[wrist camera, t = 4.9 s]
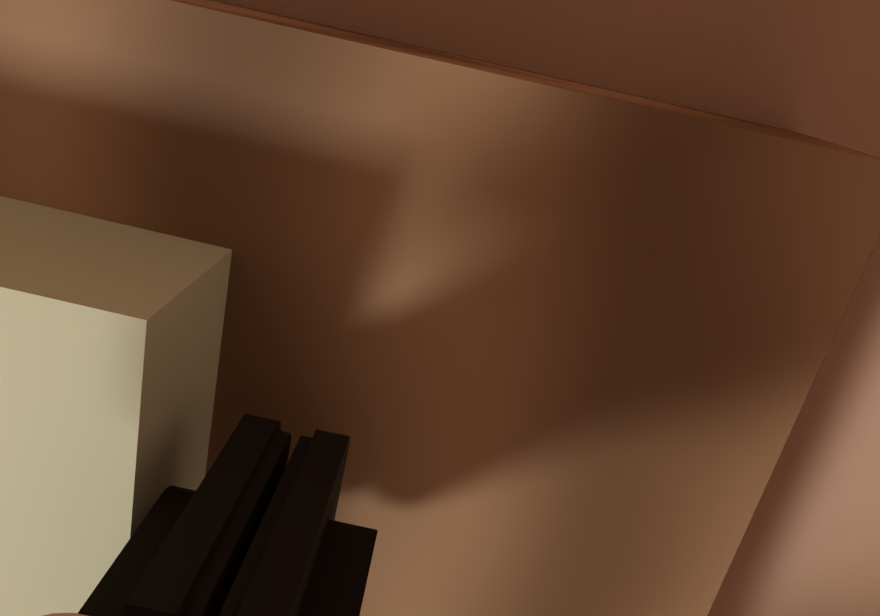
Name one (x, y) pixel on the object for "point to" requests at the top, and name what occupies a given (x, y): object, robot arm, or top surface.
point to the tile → (96, 391)
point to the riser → (465, 285)
